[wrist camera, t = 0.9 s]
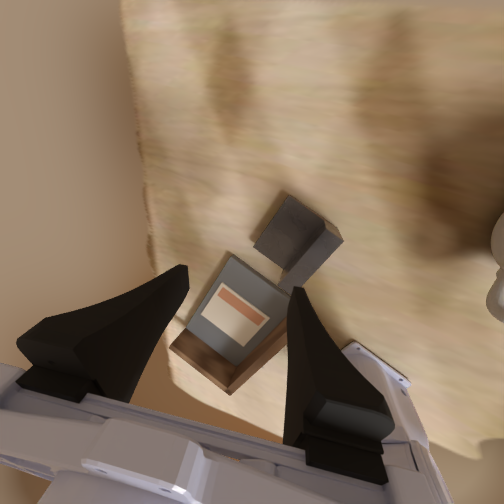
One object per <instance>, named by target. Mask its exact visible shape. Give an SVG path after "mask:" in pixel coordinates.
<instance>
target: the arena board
mask: <svg viewBox="0 0 504 504" xmlns="http://www.w3.org/2000/svg"><path fill="white" fill-rule="evenodd" d="M290 297H291V296H289V295H288V294H287V293H285V292H284V291H283V290H281V289H280V288H279V287H277V286H276V285H274V284H273V283H272V282H270V281H269V280H268V279H266V278H265V277H264V276H262V275H261V274H259V273H258V272H257V271H255V270H254V269H253V268H251V267H250V266H249V265H247V264H246V263H244V262H243V261H242V260H240V259H239V258H238V257H236V256H235V255H234V254H233V255H232V256H231V257H230V259H229V260H228V262H227V263H226V265H225V266H224V268H223V270H222V271H221V273H220V274H219V276H218V278H217V279H216V281H215V282H214V284H213V285H212V287H211V289H210V290H209V292H208V293H207V295H206V296H205V298H204V300H203V301H202V303H201V304H200V306H199V307H198V309H197V311H196V312H195V314H194V315H193V317H192V318H191V320H190V322H189V323H188V325H187V326H186V328H187V329H188V330H189V331H190V332H192V333H193V334H194V335H196V336H197V337H198V338H200V339H201V340H202V341H203V342H205V343H206V344H207V345H209V346H210V347H211V348H213V349H214V350H215V351H216V352H218V353H219V354H220V355H222V356H223V357H224V358H226V359H227V360H228V361H229V362H231V363H232V364H233V365H235V366H236V367H237V366H238V365H239V364H240V363H241V362H242V361H243V360H244V359H245V358H246V357H247V356H248V355H249V354H250V353H251V352H252V351H253V350H254V349H255V348H256V347H257V346H258V345H259V344H260V343H261V342H262V341H263V339H264V338H265V337H266V336H267V335H268V334H269V333H270V332H271V331H272V330H273V329H274V328H275V327H276V326H277V325H278V324H279V323H280V322H281V321H282V320H283V319H284V318H285V317H286V316H287V308H288V304H289V301H290Z"/></svg>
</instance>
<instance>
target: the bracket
mask: <svg viewBox="0 0 504 504" xmlns="http://www.w3.org/2000/svg"><path fill="white" fill-rule="evenodd" d="M343 242H344V240H343V238H342V236H341V234H340V232H339V230H338V228H337V227H335V226H334V225H332V224H331V223H330V222H328V221H327V220H325V219H324V218H322V217H321V216H320V215H318V214H317V213H315V212H314V211H313V210H311V209H310V208H308V207H307V206H305V205H304V204H303V203H301V202H300V201H298V200H297V199H296V198H294V197H293V196H291V195H289V196H288V197H287V199H286V200H285V201H284V203H283V204H282V206H281V207H280V209H279V210H278V212H277V213H276V215H275V216H274V217H273V219H272V220H271V222H270V223H269V225H268V226H267V228H266V229H265V230H264V232H263V233H262V235H261V236H260V238H259V239H258V241H257V242H256V244H255V245H254V246H253V247H254V248H255V249H257V250H258V251H259V252H261V253H262V254H263V255H265V256H266V257H267V258H269V259H270V260H272V261H273V262H274V263H276V264H277V265H278V266H280V267H281V268H283V272H282V275H281V277H280V280H279V283H278V286H279V287H280V288H282V289H283V290H285V291H286V292H287V293H289V294H290V295H291V294H292V290H293V287H294V286H297V287H301V286H302V285H303V284H304V283H305V282H306V281H307V280H308V279H309V278H310V277H311V276H312V275H313V274H314V272H315V271H316V270H317V269H318V268H319V267H320V266H321V265H322V264H323V263H324V262H325V261H326V260H327V259H328V258H329V257H330V255H331V254H332V253H333V252H334V251H335V250H336V249H337V248H338V247H339V246H340V245H341V244H342V243H343Z"/></svg>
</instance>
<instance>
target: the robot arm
mask: <svg viewBox="0 0 504 504" xmlns="http://www.w3.org/2000/svg"><path fill="white" fill-rule="evenodd" d="M189 289H190V287H189V276H188V266H186V265H181V264H179V265H177V266H175V267H173V268H171V269H170V270H168V271H166V272H165V273H163V274H161V275H159V276H158V277H156V278H154V279H152V280H151V281H149V282H147V283H145V284H143V285H141V286H139V287H137V288H135V289H133V290H131V291H129V292H126V293H124V294H122V295H119V296H117V297H114V298H112V299H109V300H106V301H103V302H101V303H98V304H95V305H92V306H89V307H86V308H82V309H78V310H75V311H71V312H68V313H63V314H59V315H55V316H51V317H46V318H44V319H43V320H42V321H40V322H39V323H38V324H36V325H35V326H34V327H32V328H31V329H30V330H28V331H27V332H26V333H24V334H23V335H22V336H20V337H19V338H18V339H17V342H16V344H17V347H18V348H19V350H20V351H21V352H22V353H23V354H24V356H25V357H26V358H27V359H28V360H29V361H30V362H31V363H32V364H33V366H32V367H31V368H30V369H29V370H28V371H25V370H24V369H22V368H19V367H15V366H12V365H7V364H4V363H0V463H1V464H3V465H6V466H9V467H12V468H15V469H18V470H21V471H24V472H27V473H30V474H33V475H35V476H38V477H41V478H44V479H47V480H50V481H52V483H51V484H50V486H49V487H48V488H47V490H46V492H45V493H44V494H43V496H42V497H41V499H40V500H39V502H38V503H37V504H455V503H454V501H453V499H452V497H451V494H450V492H449V490H448V488H447V486H446V484H445V481H444V479H443V477H442V475H441V473H440V471H439V469H438V467H437V465H436V463H435V461H434V459H433V457H432V456H431V454H430V452H429V442H428V438H427V434H426V432H425V430H424V427H423V425H422V423H421V421H420V418H419V416H418V414H417V411H416V409H415V407H414V405H413V402H412V400H411V398H410V396H409V393H408V391H407V389H406V388H408V387H410V386H411V382H410V381H409V380H408V379H407V378H405V377H404V376H402V375H401V374H400V373H398V372H397V371H396V370H394V369H393V368H392V367H390V366H389V365H387V364H386V363H385V362H383V361H382V360H381V359H379V358H378V357H376V356H375V355H374V354H372V353H371V352H370V351H368V350H367V349H366V348H364V347H363V346H361V345H360V344H359V343H357V342H352V343H351V344H349V345H348V346H347V347H345V348H344V349H342V350H340V349H339V348H338V347H337V345H336V344H335V343H334V341H333V340H332V338H331V337H330V336H329V334H328V333H327V331H326V330H325V328H324V326H323V325H322V323H321V322H320V320H319V318H318V316H317V314H316V313H315V311H314V309H313V307H312V305H311V303H310V301H309V299H308V296H307V294H306V292H305V289H304V288H302V287H297V286H294V287H293V290H292V294H291V297H290V301H289V304H288V308H287V322H286V324H287V347H288V374H287V392H286V407H285V421H284V434H283V444H279V443H276V442H272V441H268V440H265V439H260V438H256V437H253V436H249V435H246V434H242V433H238V432H234V431H230V430H227V429H223V428H219V427H215V426H212V425H208V424H204V423H200V422H196V421H193V420H189V419H185V418H181V417H177V416H174V415H170V414H166V413H162V412H159V411H155V410H151V409H147V408H143V407H139V406H135V405H132V404H129V402H130V399H131V397H132V395H133V393H134V390H135V388H136V386H137V383H138V381H139V379H140V376H141V375H142V372H143V370H144V368H145V366H146V364H147V362H148V360H149V358H150V356H151V354H152V352H153V350H154V348H155V346H156V344H157V342H158V340H159V339H160V337H161V335H162V333H163V332H164V330H165V328H166V327H167V325H168V324H169V322H170V321H171V319H172V318H173V316H174V315H175V313H176V312H177V310H178V309H179V307H180V306H181V304H182V303H183V301H184V299H185V297H186V295H187V293H188V291H189ZM357 347H360V348H357ZM400 378H401V379H400ZM223 455H224V456H223ZM225 456H228V457H231V458H235V459H238V460H240V461H239V462H238V461H235V460H233V459H230V458H228V457H225Z"/></svg>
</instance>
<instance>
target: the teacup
mask: <svg viewBox="0 0 504 504" xmlns="http://www.w3.org/2000/svg"><path fill="white" fill-rule="evenodd" d="M491 250H492V254H493V256H494V259H495V260H496V262H497V263H498V265H499V266H500V269H499V270H498V271H497V273H496V276H497V279H496V280H495V282H494V284H493V285H492V287H491V289H490V290H489V292H488V295H487V298H486V306H487V309H488V310H489V312H490V313H491V315H493V316H494V317H495V318H496V319H498V320H499V321H501V322H503V323H504V212H503V214H502V215H501V216H500V218H499V219H498V221H497V223H496V224H495V227H494V229H493V232H492V235H491Z"/></svg>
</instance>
